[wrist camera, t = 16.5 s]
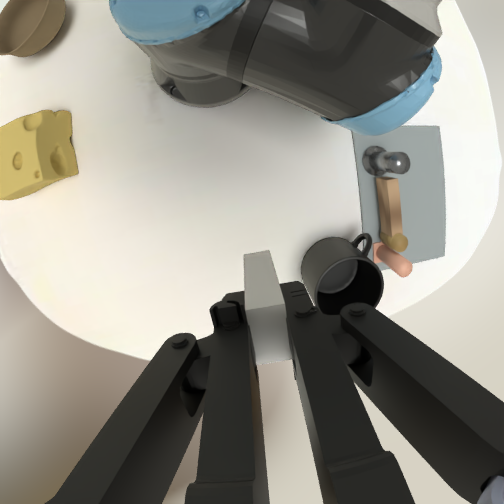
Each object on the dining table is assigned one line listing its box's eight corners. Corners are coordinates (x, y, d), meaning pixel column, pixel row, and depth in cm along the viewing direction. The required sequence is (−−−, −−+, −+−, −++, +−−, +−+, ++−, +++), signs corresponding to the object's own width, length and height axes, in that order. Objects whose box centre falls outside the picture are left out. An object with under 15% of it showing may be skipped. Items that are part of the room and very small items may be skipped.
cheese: (72, 111, 35) (34, 104, 25) (81, 177, 38) (44, 185, 29) (25, 133, 35) (-14, 133, 26) (34, 194, 38) (-4, 205, 29)
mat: (351, 128, 38) (352, 128, 37) (437, 126, 37) (439, 126, 37) (364, 272, 44) (365, 273, 44) (443, 255, 44) (444, 256, 44)
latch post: (371, 242, 43) (395, 259, 35) (389, 239, 43) (415, 255, 35) (372, 261, 44) (394, 282, 36) (389, 258, 44) (414, 277, 36)
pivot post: (359, 147, 38) (383, 146, 31) (385, 145, 38) (413, 144, 31) (362, 177, 40) (387, 182, 32) (388, 174, 40) (416, 179, 32)
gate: (373, 178, 38) (388, 181, 34) (388, 176, 38) (403, 178, 34) (380, 244, 41) (394, 253, 37) (394, 241, 41) (408, 250, 37)
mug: (379, 240, 43) (407, 260, 34) (338, 304, 46) (356, 334, 37) (331, 209, 41) (353, 223, 33) (288, 279, 44) (299, 308, 36)
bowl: (13, 61, 30) (-22, 51, 21) (45, 1, 27) (16, -17, 17) (54, 69, 32) (18, 57, 23) (91, 4, 29) (64, -20, 19)
